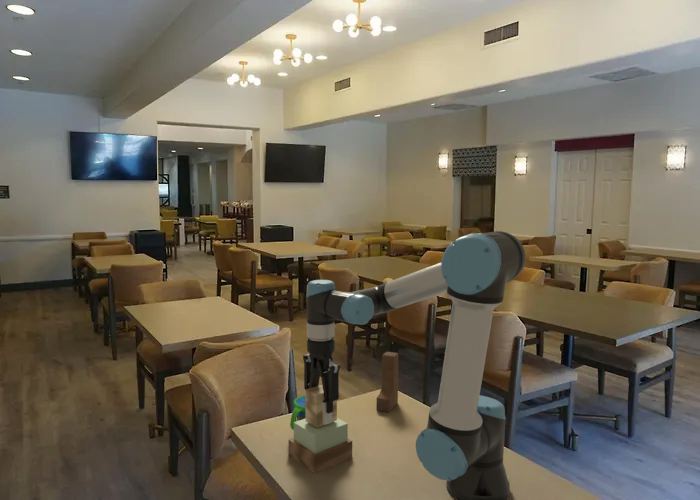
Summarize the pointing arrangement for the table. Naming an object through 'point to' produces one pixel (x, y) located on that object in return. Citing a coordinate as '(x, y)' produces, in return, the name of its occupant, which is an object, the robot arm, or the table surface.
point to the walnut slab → (319, 455)
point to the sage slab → (320, 434)
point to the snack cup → (298, 410)
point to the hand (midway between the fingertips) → (321, 419)
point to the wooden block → (388, 382)
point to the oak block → (317, 406)
